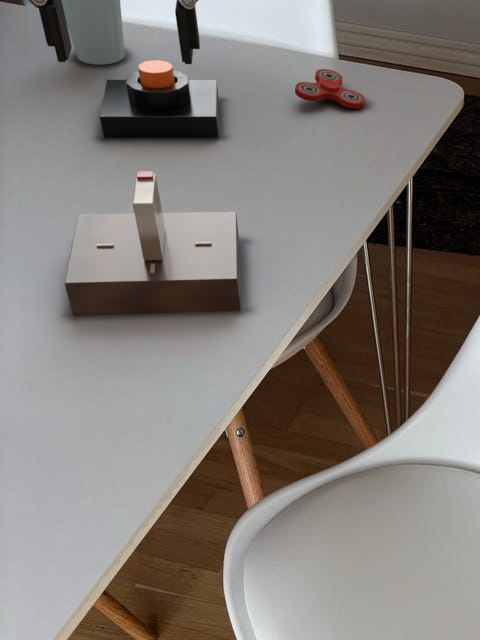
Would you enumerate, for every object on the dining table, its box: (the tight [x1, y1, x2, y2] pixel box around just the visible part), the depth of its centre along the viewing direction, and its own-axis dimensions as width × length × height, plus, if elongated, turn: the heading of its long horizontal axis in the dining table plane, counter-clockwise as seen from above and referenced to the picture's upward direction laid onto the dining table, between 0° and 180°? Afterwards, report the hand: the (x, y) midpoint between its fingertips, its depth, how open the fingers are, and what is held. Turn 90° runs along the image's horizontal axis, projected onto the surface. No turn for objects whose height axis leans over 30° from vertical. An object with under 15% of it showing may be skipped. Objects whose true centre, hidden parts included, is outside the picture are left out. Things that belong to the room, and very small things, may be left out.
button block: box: [99, 69, 220, 139], centre depth 111 cm, size 12×10×4 cm
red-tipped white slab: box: [132, 171, 165, 260], centre depth 87 cm, size 6×2×5 cm, turn 9°
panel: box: [64, 211, 242, 316], centre depth 90 cm, size 14×12×3 cm
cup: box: [62, 0, 125, 66], centre depth 119 cm, size 8×8×10 cm
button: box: [137, 59, 175, 88], centre depth 109 cm, size 4×4×2 cm
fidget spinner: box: [294, 68, 366, 110], centre depth 118 cm, size 8×7×1 cm
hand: (127, 57), depth 82 cm, fingers open, 9 cm apart
